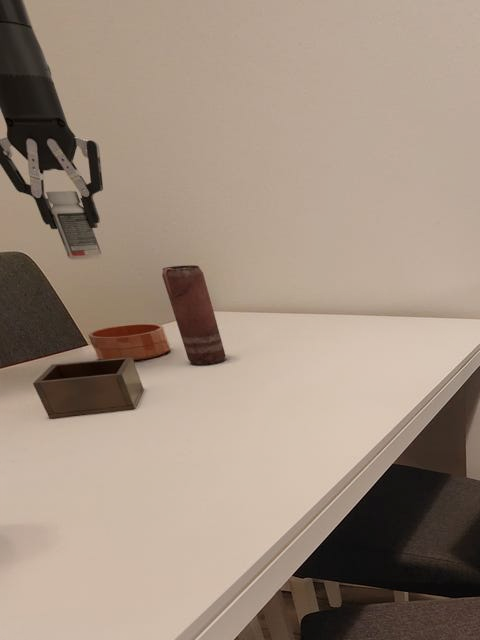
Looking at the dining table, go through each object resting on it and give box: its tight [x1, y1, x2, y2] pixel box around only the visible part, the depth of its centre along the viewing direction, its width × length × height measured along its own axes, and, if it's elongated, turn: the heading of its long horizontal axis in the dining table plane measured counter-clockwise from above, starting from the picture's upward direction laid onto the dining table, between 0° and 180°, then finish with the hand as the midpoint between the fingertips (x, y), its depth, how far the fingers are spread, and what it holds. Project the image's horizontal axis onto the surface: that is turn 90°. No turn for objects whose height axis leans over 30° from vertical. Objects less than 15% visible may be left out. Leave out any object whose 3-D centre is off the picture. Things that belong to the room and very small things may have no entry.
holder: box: [32, 357, 144, 419], centre depth 82 cm, size 11×11×4 cm
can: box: [161, 264, 226, 366], centre depth 98 cm, size 6×6×14 cm
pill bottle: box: [45, 190, 103, 261], centre depth 90 cm, size 5×5×8 cm
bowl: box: [88, 323, 171, 362], centre depth 106 cm, size 12×12×4 cm
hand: (74, 227), depth 90 cm, fingers closed on pill bottle, 4 cm apart
